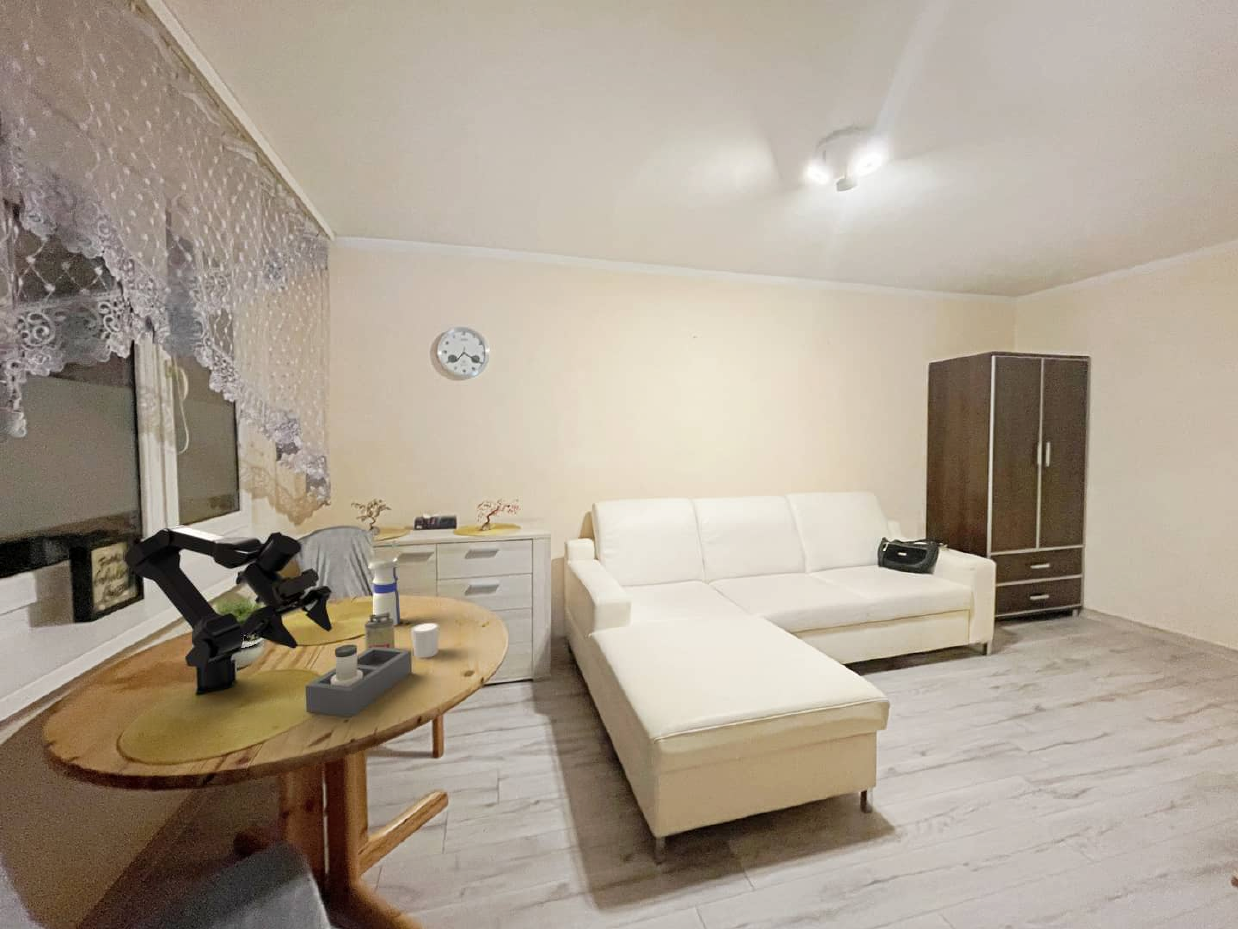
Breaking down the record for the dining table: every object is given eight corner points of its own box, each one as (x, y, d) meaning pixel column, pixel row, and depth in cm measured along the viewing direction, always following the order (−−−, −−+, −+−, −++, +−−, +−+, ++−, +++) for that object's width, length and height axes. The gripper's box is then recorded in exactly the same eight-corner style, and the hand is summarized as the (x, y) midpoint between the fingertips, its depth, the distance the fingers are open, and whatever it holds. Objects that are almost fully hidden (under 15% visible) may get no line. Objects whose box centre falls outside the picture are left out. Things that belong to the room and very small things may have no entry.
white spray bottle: (376, 619, 156) (373, 539, 154) (405, 617, 157) (402, 538, 155) (366, 629, 147) (363, 545, 146) (396, 627, 148) (393, 544, 147)
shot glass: (433, 645, 135) (432, 620, 135) (444, 653, 131) (444, 627, 130) (407, 653, 131) (406, 627, 130) (418, 661, 126) (417, 634, 125)
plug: (331, 700, 103) (330, 657, 102) (330, 687, 108) (329, 646, 107) (364, 692, 106) (363, 650, 105) (361, 680, 111) (360, 640, 110)
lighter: (364, 656, 129) (363, 618, 128) (365, 650, 133) (364, 613, 132) (394, 651, 132) (393, 614, 131) (395, 646, 135) (394, 609, 135)
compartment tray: (350, 717, 101) (349, 691, 100) (306, 711, 103) (305, 685, 103) (411, 672, 120) (411, 650, 119) (373, 668, 122) (372, 646, 122)
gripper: (250, 572, 99) (299, 631, 97) (323, 551, 117) (366, 600, 116) (219, 608, 101) (267, 666, 100) (296, 582, 119) (338, 631, 118)
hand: (313, 638), depth 108 cm, fingers open, 9 cm apart
